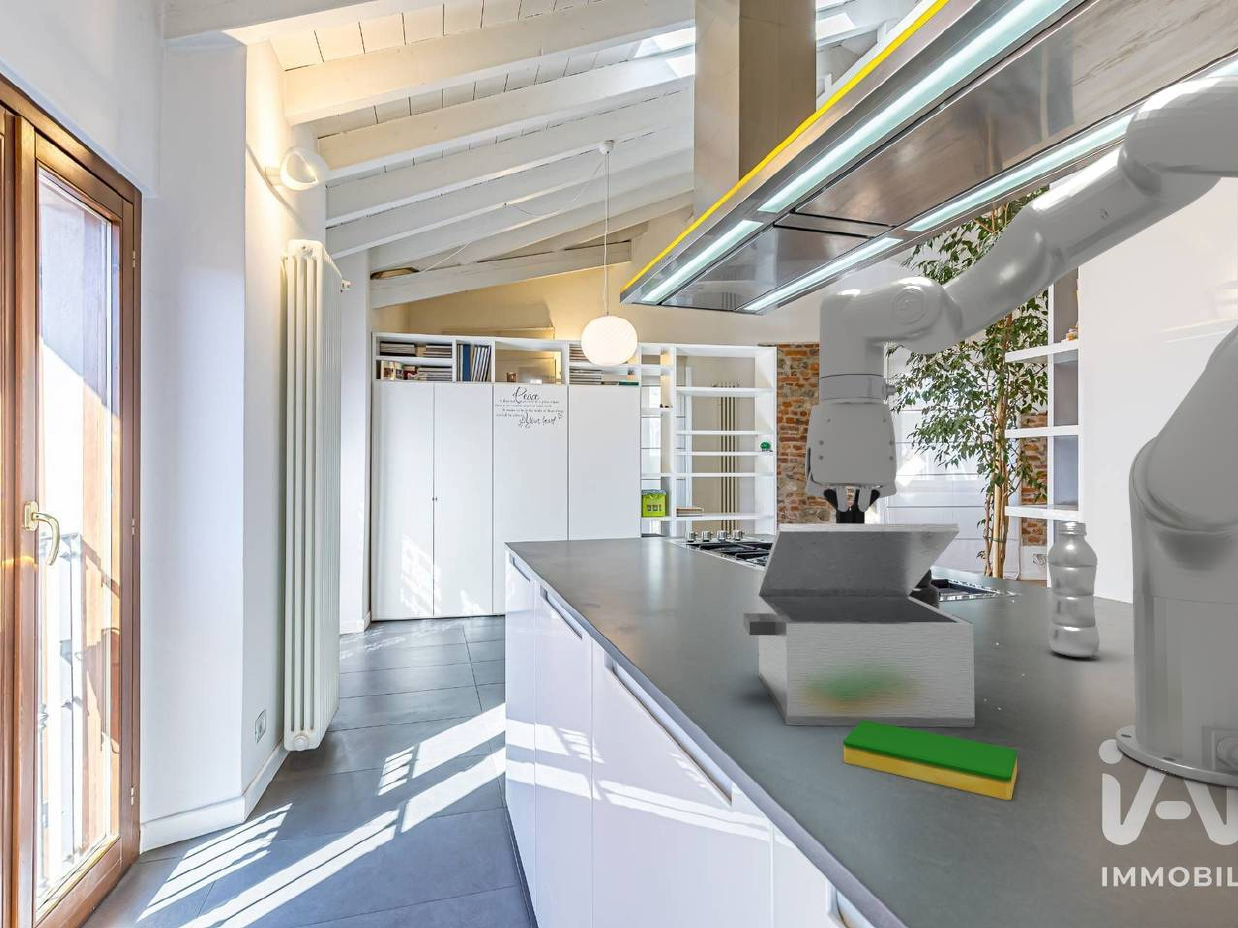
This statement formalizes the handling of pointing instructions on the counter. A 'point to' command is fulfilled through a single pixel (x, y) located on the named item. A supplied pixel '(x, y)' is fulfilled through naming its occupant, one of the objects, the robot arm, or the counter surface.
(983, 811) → the counter surface
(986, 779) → the dish sponge
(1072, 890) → the counter surface
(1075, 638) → the plastic bottle
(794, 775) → the counter surface
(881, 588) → the lid
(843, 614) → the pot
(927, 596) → the supplement bottle
